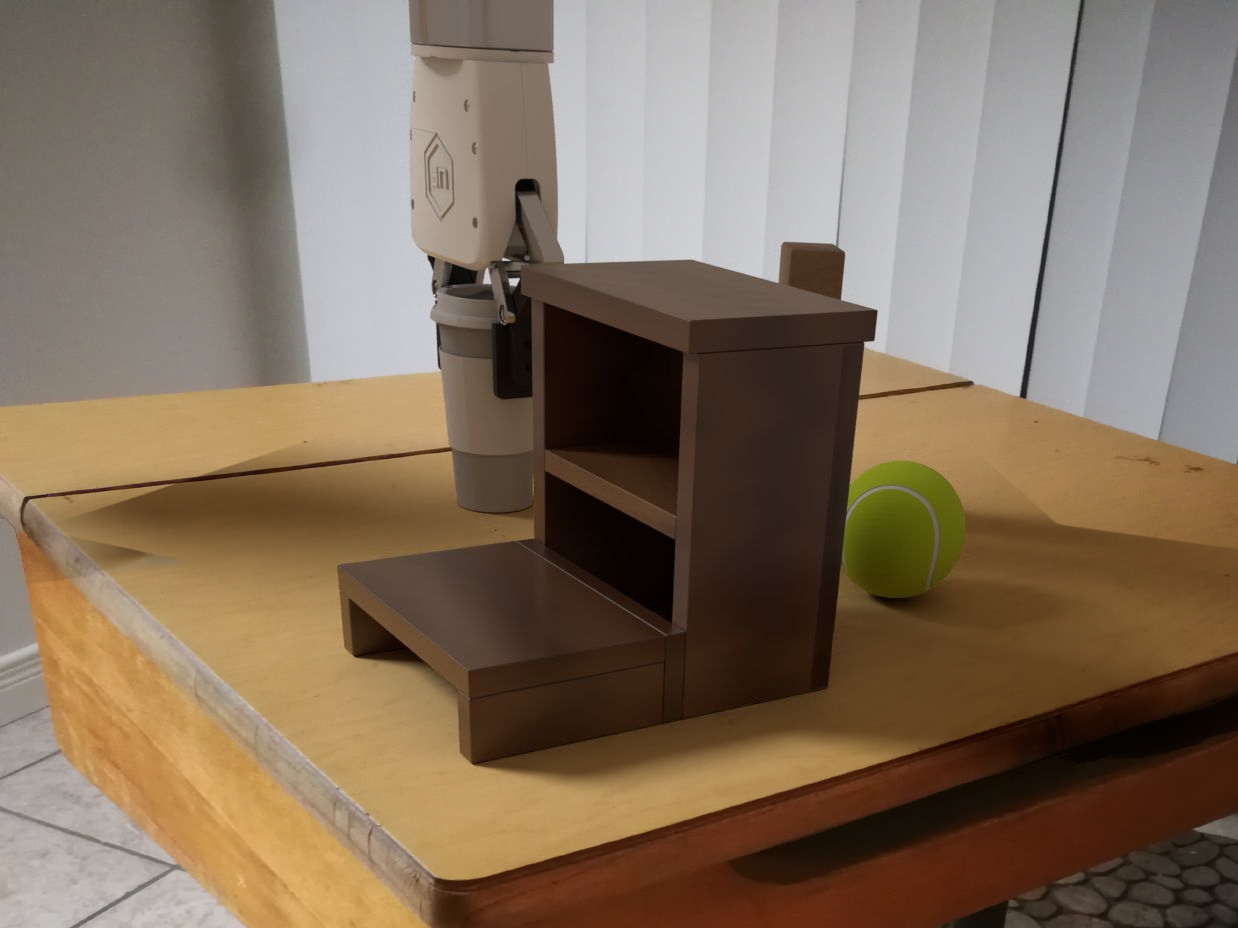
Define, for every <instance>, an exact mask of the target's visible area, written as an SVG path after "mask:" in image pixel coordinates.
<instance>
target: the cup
mask: <svg viewBox="0 0 1238 928" xmlns="http://www.w3.org/2000/svg"><path fill="white" fill-rule="evenodd" d="M516 286H517V285H511V284H510V288H511V293H512V294H513V292H514V290H515V288H516ZM436 300H437V304H435V303H434V305H432V307H431V309H430V314H429V318H430V321H431V320H432V321H433V322H434V323H435V324H436V323H437V324H438V325H439V329H440V339H441V346H440V347H439V355H440V364H441V370H440V374H441V383H442V384H441V385H442V393H443V401H444V413H445V421H446V430H447V431H446V433H447V442H448V445H449V447H450V448H451V457H452V467H453V477H454V487H455V497H456V503H457V505H458V506H460V507H462V508H464V509H466V510H468V511H469V510H470V511H475V512H480V513H490V514H491V513H493V514H494V513H499V514H500V513H503V514H504V513H512V512H519V511H523V510H525V509H527V508H529V507H531V505H532V504H533V495H534V476H533V397H529V398H517V399H505V400H503V399H500V398H498V397H496V396H495V395H494V392H493V357H492V323H500V321H499V318H498V313H497V308H496V304H495V299H494V294H493V290H492V285H491V283H483V284H460V285H452V286H446V287H442V288H440V289H439V290H438V291H437V299H436Z"/></svg>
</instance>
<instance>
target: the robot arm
mask: <svg viewBox="0 0 1238 928" xmlns="http://www.w3.org/2000/svg"><path fill="white" fill-rule="evenodd" d="M408 17H409V18H408V19H409V39H410V55H411V56H414V61H413V70H412V78H411V79H412V81H411V92H410V93H411V94H410V95H411V97H410V112H409V113H410V115H409V183H410V184H409V195H410V197H409V199H410V225H411V226H410V228H411V229H410V230H411V237H412V240H413V242H414V244H415V245H416V247H417V248H418V249H419V250H420V251H422V252H423V253H424V254H425V255H426V257H427V261H428V262H429V265H430V267H431V269H432V276H431V277H432V278H431V292H432V295H433V297H434V299H435V300H434V305H435V304H437V291H438V290H439V289H440V288H442V287H446V286H452V285H460V284H484V281H485V275H486V270H488V275H489V280H490V284H491V285H492V290H493V294H494V299H495V304H496V308H497V313H498V318H499V321H500V323H492V357H493V392H494V395H495V396H496V397H498V398H500V399H503V400H505V399H517V398H529V397H533V387H532V298H531V297H528V296H525V295H523V294H521V265H536V264H565V255H564V252H563V249H562V247H561V244H560V243H559V241H558V236H559V235H558V233H559V183H558V181H559V180H558V161H557V160H558V159H557V143H556V142H557V141H556V126H555V114H554V105H553V94H552V85H551V75H550V68H549V67H550V66H549V64H555V51H554V50H555V0H408ZM503 259H505V260H503ZM510 279H518V281H517V283H516V285H515V286H516V288H515V290H514V292H513V294H512V293H511V288H510V285H511V283H510ZM435 332H436V355H437V356H436V357H437V367H438V369H439V370H440V371H441V364H440V355H439V347H440V346H441V339H440V329H439V325H438V324H437V323H436V322H435Z"/></svg>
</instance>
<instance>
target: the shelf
mask: <svg viewBox="0 0 1238 928" xmlns="http://www.w3.org/2000/svg"><path fill="white" fill-rule="evenodd" d="M521 294H523V295H525V296H528V297H531V298H532V387H533V538H527V539H526V538H525V539H519V540H511V541H503V542H502V541H501V542H495V543H488V544H481V545H474V546H473V545H472V546H465V547H459V548H451V549H445V550H444V549H443V550H435V551H430V552H429V551H428V552H422V553H414V554H406V555H399V556H392V557H384V558H376V559H368V560H362V561H354V562H346V563H339V564H336V569H337V581H338V590H339V602H340V603H339V604H340V613H341V625H342V637H343V638H342V639H343V646H344V649H345V650H346V651H348V653H350V654H351V655H352V656H361V655H367V654H374V653H379V652H385V651H390V650H397V649H402V648H403V649H404V648H408V649H409V650H410V651H412V652H413V653H414V654H415V655H416V656H418V657H419V658H420V659H422V661H423V662H425V663H426V664H427V665H428V666H429V667H430V668H432V669H433V670H434V671H435V672H437V674H439V675H440V676H441V677H443V679H444V680H446V681H448V683H450V684H451V685H452V686H453V687H454V688H456V689H457V690H456V693H457V695H456V696H457V720H458V741H459V754H461V756H462V757H464V758H465V759H466V760H467V761H468V762H469V763H470V764H477V763H481V762H482V763H483V762H486V761H491V760H496V759H500V758H505V757H509V756H514V755H519V754H524V753H528V752H534V751H538V750H543V749H547V748H551V747H557V746H561V745H566V744H570V743H575V742H580V741H585V740H589V739H594V738H599V737H604V736H607V735H612V734H613V735H614V734H617V733H621V732H626V731H630V730H631V731H632V730H636V729H641V728H645V727H650V726H655V725H659V724H662V723H669V722H674V721H678V720H681V719H682V720H683V719H687V718H688V719H689V718H693V717H697V716H701V715H702V716H703V715H706V714H712V713H715V712H721V711H725V710H729V709H735V708H740V707H744V706H749V705H753V704H758V703H763V702H767V701H768V702H769V701H773V700H777V699H781V698H786V697H790V696H791V697H792V696H795V695H800V694H801V695H802V694H805V693H809V692H814V691H820V690H824V689H828V688H829V685H830V675H831V668H832V667H831V665H832V657H833V656H832V655H833V647H834V646H833V645H834V638H835V628H836V619H837V609H838V599H839V590H840V581H841V580H840V579H841V570H842V568H841V563H842V553H843V544H844V534H845V525H846V515H847V506H848V496H849V487H850V484H851V477H852V469H853V468H852V466H853V458H854V448H855V440H856V429H857V420H858V412H859V411H858V410H859V402H860V401H859V400H860V391H861V382H862V373H863V363H864V354H865V353H864V352H865V343H869V342H870V343H871V342H875V340H876V332H877V322H878V312H879V310H878V309H875V308H873V307H872V308H871V307H869V306H864V305H861V304H857V303H853V302H850V301H845V300H842V299H841V300H839V299H835V298H832V297H828V296H824V295H821V294H817V293H813V292H810V291H806V290H802V289H798V288H795V287H791V286H787V285H784V284H780V283H778V282H776V281H773V280H769V279H765V278H762V277H758V276H754V275H750V274H746V273H743V272H740V271H736V270H732V269H729V268H724V267H720V266H717V265H714V264H711V263H706V262H703V261H699V260H695V259H667V260H665V259H664V260H663V259H662V260H637V261H636V260H634V261H605V262H604V261H603V262H600V261H599V262H571V263H570V262H569V263H568V262H567V263H564V264H536V265H521ZM660 605H663V606H665V607H666V608H668V609H669V610H671V611H672V614H671V615H672V616H671V617H672V618H671V622H670V621H668V620H667V619H666V618H664V617H662V616H661V615H659V614H658V613H656V612H654V611H652V610H651V609H649V608H648V607H654V606H660Z"/></svg>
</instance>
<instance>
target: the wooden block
mask: <svg viewBox="0 0 1238 928" xmlns="http://www.w3.org/2000/svg"><path fill="white" fill-rule="evenodd" d="M845 261H846V251H845V250H842V249H841V248H840V247H838V246H837V245H835V244H834V243H827V242H825V243H824V242H802V241H801V242H800V241H784V242H782V243H781V245H780V257H779V270H778V282H777V283H780V284H784V285H787V286H791V287H795V288H798V289H802V290H806V291H810V292H813V293H817V294H821V295H824V296H828V297H832V298H835V299H839V300H842V296H843V295H842V293H843V283H844V275H845V274H844V273H845V264H846V263H845Z"/></svg>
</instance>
